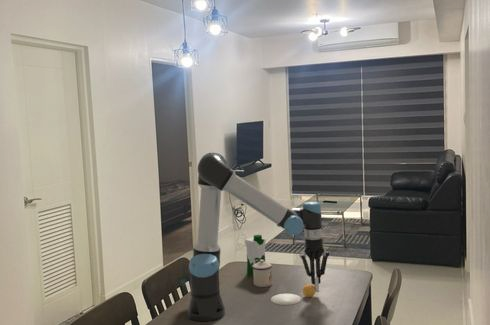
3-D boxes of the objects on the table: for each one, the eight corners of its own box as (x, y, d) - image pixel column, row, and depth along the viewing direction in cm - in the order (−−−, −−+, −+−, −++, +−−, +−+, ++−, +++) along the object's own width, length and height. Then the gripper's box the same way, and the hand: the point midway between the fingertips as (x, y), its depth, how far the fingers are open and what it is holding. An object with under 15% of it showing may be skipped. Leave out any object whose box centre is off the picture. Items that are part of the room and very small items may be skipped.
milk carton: (255, 278, 247) (254, 238, 245) (244, 274, 254) (242, 235, 252) (269, 274, 252) (267, 234, 251) (257, 270, 259) (255, 232, 258)
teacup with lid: (273, 286, 234) (272, 262, 233) (254, 287, 233) (253, 263, 232) (270, 278, 246) (269, 255, 245) (252, 279, 245) (250, 256, 244)
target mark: (274, 306, 209) (274, 306, 209) (267, 295, 222) (267, 295, 222) (304, 303, 212) (304, 302, 212) (296, 292, 224) (296, 292, 224)
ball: (311, 301, 216) (302, 294, 215) (307, 297, 221) (298, 289, 220) (319, 291, 216) (310, 284, 215) (315, 287, 222) (306, 280, 221)
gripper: (301, 241, 212) (304, 295, 214) (330, 238, 214) (333, 291, 216) (296, 237, 219) (299, 289, 221) (325, 234, 221) (327, 286, 224)
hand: (316, 290), depth 219 cm, fingers closed
